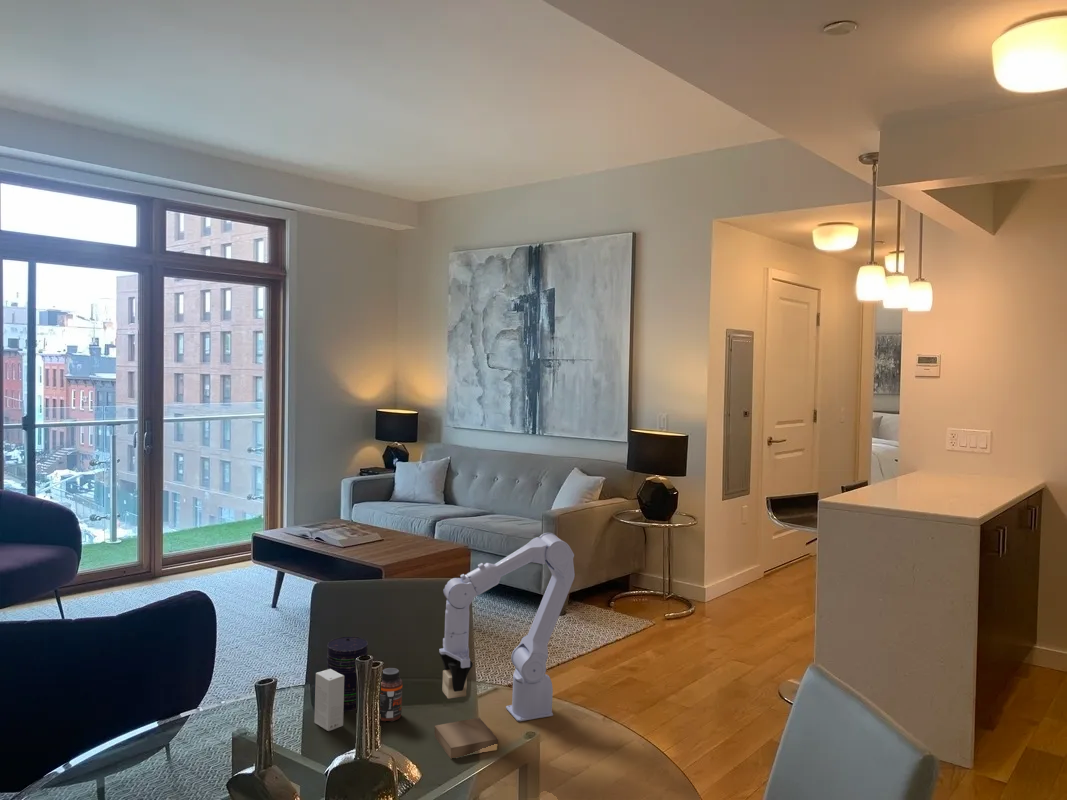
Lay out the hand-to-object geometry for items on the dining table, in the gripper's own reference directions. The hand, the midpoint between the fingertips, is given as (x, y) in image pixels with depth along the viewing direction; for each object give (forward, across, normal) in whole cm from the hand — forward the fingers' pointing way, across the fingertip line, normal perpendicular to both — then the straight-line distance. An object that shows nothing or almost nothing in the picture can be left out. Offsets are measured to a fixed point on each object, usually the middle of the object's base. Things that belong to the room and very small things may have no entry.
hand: (454, 686), depth 188 cm
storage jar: (+9, -18, -22) cm, 30 cm away
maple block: (+2, 0, 0) cm, 2 cm away
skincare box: (+9, -8, -28) cm, 30 cm away
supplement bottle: (+9, -7, -14) cm, 18 cm away
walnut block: (+9, +11, -1) cm, 14 cm away
